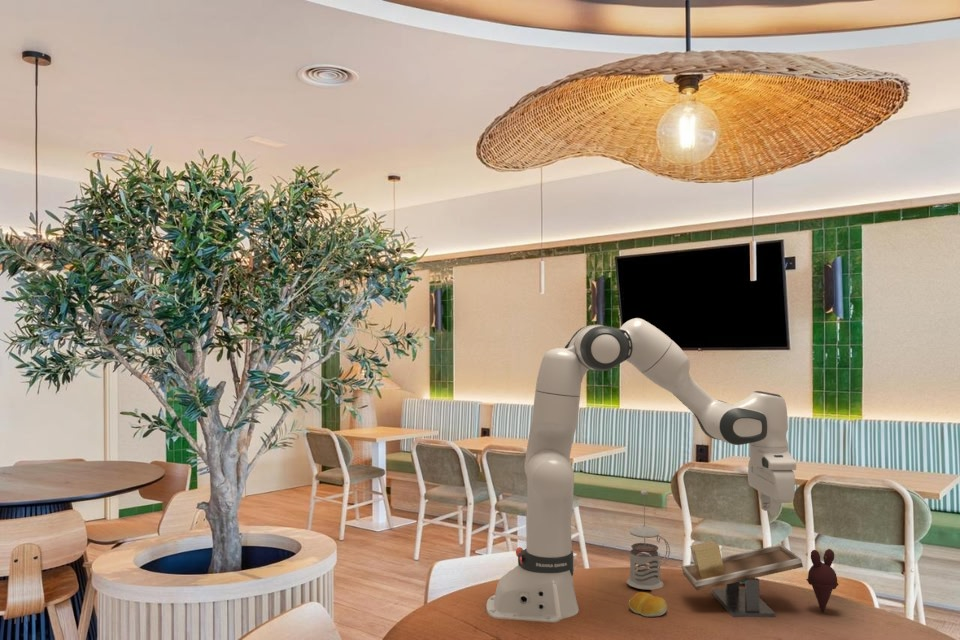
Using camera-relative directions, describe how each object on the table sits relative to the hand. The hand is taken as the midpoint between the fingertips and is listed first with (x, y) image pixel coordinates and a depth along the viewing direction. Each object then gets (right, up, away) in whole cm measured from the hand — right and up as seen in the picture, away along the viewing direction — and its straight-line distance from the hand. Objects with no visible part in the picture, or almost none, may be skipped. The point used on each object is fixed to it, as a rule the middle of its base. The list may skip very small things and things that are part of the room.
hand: (769, 512), depth 174 cm
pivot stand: (-7, -23, 0) cm, 24 cm away
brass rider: (-15, -15, 0) cm, 21 cm away
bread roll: (-28, -23, -5) cm, 37 cm away
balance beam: (-7, -15, 0) cm, 16 cm away
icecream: (+11, -23, -5) cm, 26 cm away
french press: (-26, -24, +16) cm, 39 cm away
